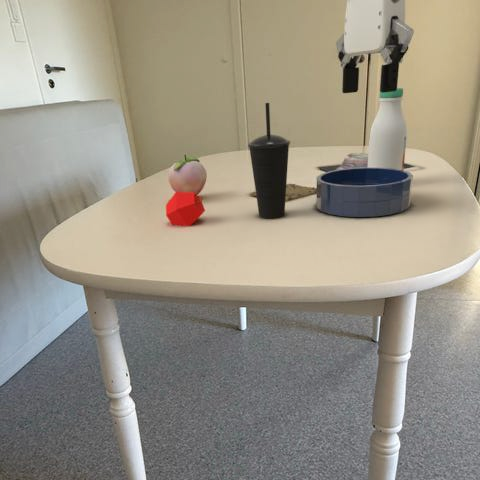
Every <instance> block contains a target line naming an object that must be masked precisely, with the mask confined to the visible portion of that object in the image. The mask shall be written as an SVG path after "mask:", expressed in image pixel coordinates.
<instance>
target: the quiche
mask: <svg viewBox="0 0 480 480" xmlns="http://www.w3.org/2000/svg"><path fill="white" fill-rule="evenodd" d="M367 167H368V153H366V152H359V153H355V152H351V153H349V154H347V155H345V157H344V159H343V161H342V163H341V164H335V165H334V164H333V165H324V166H317V168H318V169H320V170H322V171H325V172H329V171H335V170H341V169H350V168H367ZM411 168H416V166H415V165H412V164H408V163H405V162H404V170H407V169H411Z"/></svg>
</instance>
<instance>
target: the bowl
mask: <svg viewBox="0 0 480 480" xmlns="http://www.w3.org/2000/svg"><path fill="white" fill-rule="evenodd" d="M413 182H414V175H413V174H412V172H410V171H407V170H405V169H404V170H398V169H392V168H369V167H367V168H350V169H341V170H335V171H329V172H327V171H325V172H323V173H320V174H319V175H317V176H316V188H317V194H316V209H317V210H319V211H320V212H321V213H325V214H328V215H334V216H339V217H349V218H351V217H352V218H374V217H375V218H376V217H383V216H389V215H394V214H398V213H402V212H403V211H405V210H407V209H409V207H410V205H411V200H412V191H413Z"/></svg>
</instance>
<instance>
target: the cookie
mask: <svg viewBox="0 0 480 480" xmlns="http://www.w3.org/2000/svg"><path fill="white" fill-rule="evenodd" d="M312 195H317V187H314V186H313V187H310V186H301V185H298V184H296V183H293V184H292V183H286V198H285V203H286V202H291V201H294V200H298V199H301V198H304V197H309V196H312ZM249 196H251V197H253V196H254V197H256V191H253V192H250V193H249Z"/></svg>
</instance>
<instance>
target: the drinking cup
mask: <svg viewBox="0 0 480 480" xmlns="http://www.w3.org/2000/svg"><path fill="white" fill-rule="evenodd" d="M264 104H265V105H264V107H265V128H266V129H265V130H266V134H263V135H261V136H258V137H255V138H254V139H253V140H252V141H250V142H248V143H247V148H248V149H249V153H250V155H249V156H250V161H251V168H252V175H253V182H254V188H255V192H256V196H255V198H256V203H257V212H258V217H259V218H260V219H263V220H277V219H280V218H281V219H282V218H283V217H284V216H285V214H286V213H285V212H286V202H285V198H286V184H288V183H287V180H288V167H289V166H288V165H289V164H288V163H289V150H290V145H291V140H290V139H287V138H285V137H283V136H281V135H277V134H272V133H271V114H270V113H271V112H270V111H271V110H270V102H265V103H264Z"/></svg>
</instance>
